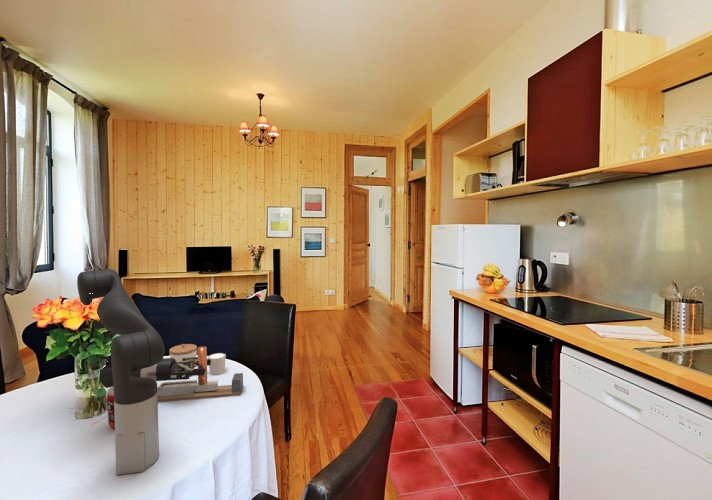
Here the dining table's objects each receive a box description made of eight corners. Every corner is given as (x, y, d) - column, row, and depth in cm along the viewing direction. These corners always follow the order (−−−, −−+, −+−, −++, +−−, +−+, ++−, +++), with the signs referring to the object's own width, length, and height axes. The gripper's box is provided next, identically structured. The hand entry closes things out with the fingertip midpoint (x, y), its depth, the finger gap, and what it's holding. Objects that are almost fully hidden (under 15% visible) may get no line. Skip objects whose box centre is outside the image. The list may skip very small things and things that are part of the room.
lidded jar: (202, 361, 152) (201, 341, 152) (187, 371, 142) (186, 349, 141) (180, 360, 154) (179, 339, 153) (163, 369, 143) (163, 347, 143)
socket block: (240, 392, 122) (240, 379, 121) (231, 392, 121) (231, 380, 121) (243, 384, 127) (242, 373, 127) (234, 385, 127) (234, 373, 127)
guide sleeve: (193, 394, 119) (193, 385, 119) (157, 397, 117) (156, 388, 117) (197, 388, 124) (197, 380, 124) (162, 391, 122) (161, 382, 121)
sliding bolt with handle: (216, 390, 121) (215, 348, 121) (161, 394, 118) (160, 351, 117) (217, 386, 124) (217, 345, 123) (164, 390, 121) (163, 348, 120)
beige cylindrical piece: (208, 370, 143) (207, 354, 142) (225, 367, 145) (225, 351, 145) (208, 376, 136) (208, 359, 136) (226, 373, 139) (226, 357, 139)
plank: (240, 395, 121) (240, 392, 121) (155, 402, 116) (155, 399, 116) (243, 386, 128) (243, 384, 128) (163, 392, 123) (162, 390, 123)
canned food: (103, 425, 102) (101, 390, 101) (131, 413, 109) (130, 379, 109) (117, 432, 99) (116, 396, 98) (145, 419, 106) (144, 385, 105)
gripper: (150, 367, 112) (202, 364, 115) (166, 352, 126) (212, 349, 129) (150, 389, 112) (203, 385, 115) (166, 371, 126) (212, 368, 129)
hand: (207, 366), depth 122 cm, fingers open, 8 cm apart
